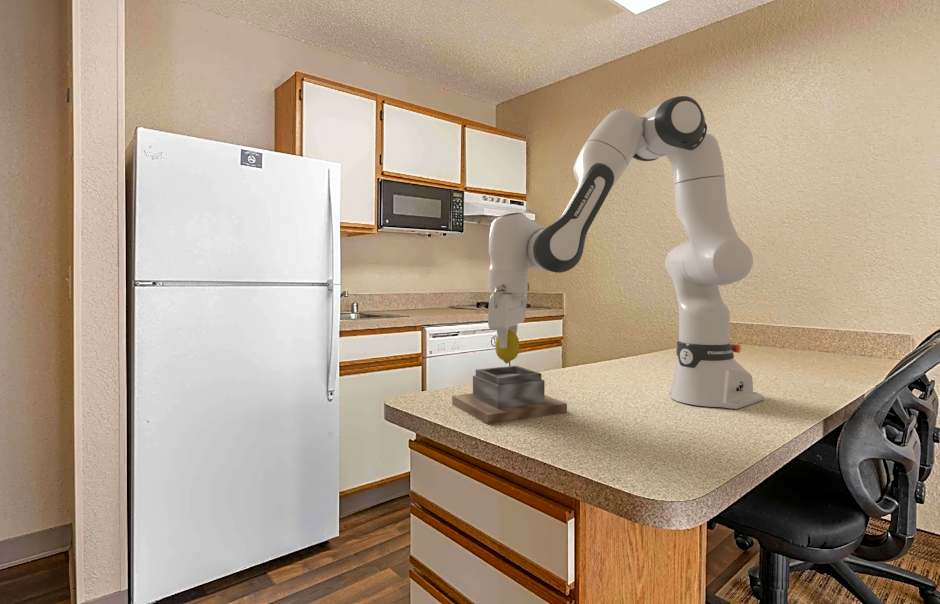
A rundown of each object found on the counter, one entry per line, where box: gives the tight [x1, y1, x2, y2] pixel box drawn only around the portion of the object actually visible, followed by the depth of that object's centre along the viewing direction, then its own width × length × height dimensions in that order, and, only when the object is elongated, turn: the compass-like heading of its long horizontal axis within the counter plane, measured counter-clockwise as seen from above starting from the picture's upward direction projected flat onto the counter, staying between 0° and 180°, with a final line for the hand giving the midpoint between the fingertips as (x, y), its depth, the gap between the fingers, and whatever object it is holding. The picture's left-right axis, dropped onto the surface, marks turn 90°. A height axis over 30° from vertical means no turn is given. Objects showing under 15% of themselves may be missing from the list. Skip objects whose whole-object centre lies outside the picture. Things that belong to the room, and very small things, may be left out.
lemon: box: [494, 329, 520, 364], centre depth 114 cm, size 6×6×8 cm
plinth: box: [451, 365, 568, 425], centre depth 114 cm, size 20×18×8 cm
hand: (507, 345), depth 114 cm, fingers closed on lemon, 5 cm apart
